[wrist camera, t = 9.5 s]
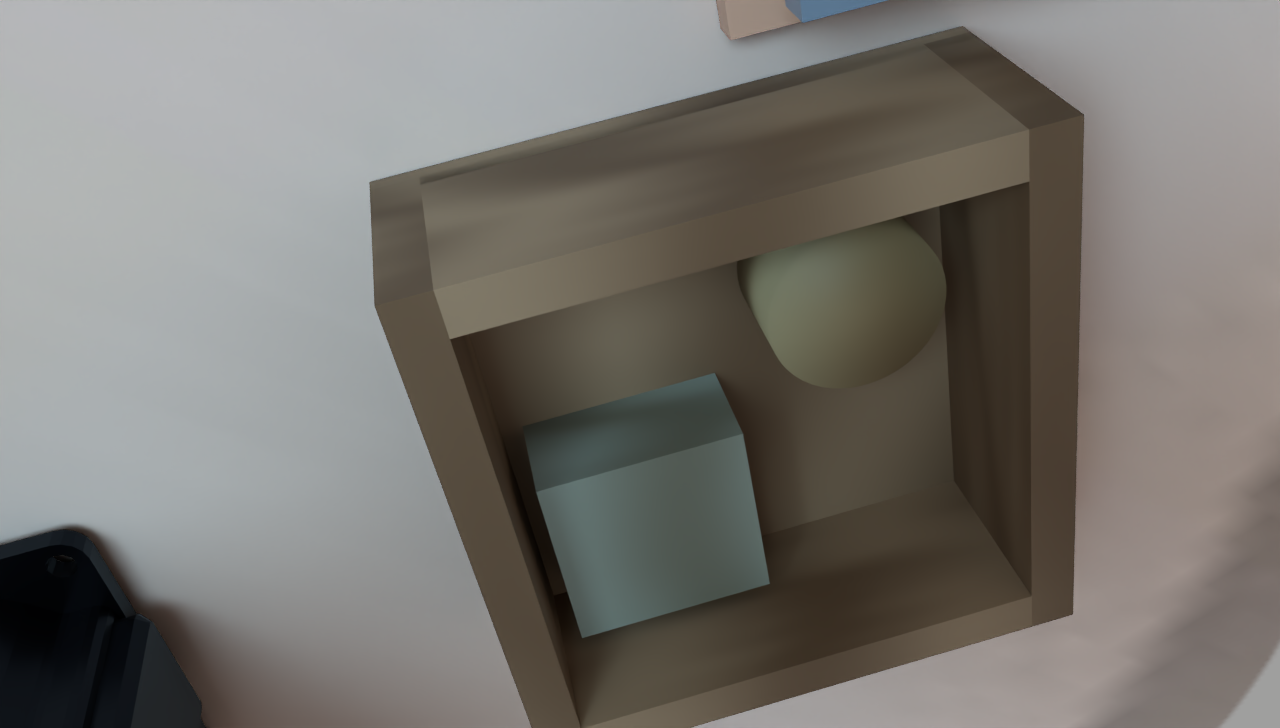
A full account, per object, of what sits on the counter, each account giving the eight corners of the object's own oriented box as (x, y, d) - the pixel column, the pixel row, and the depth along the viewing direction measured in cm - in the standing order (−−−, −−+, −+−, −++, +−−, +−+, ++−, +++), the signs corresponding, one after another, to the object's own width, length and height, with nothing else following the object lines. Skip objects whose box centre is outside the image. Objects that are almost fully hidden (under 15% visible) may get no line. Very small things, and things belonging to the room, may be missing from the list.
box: (521, 613, 25) (547, 770, 22) (369, 182, 19) (374, 305, 16) (979, 481, 26) (1072, 613, 22) (961, 26, 20) (1084, 114, 17)
